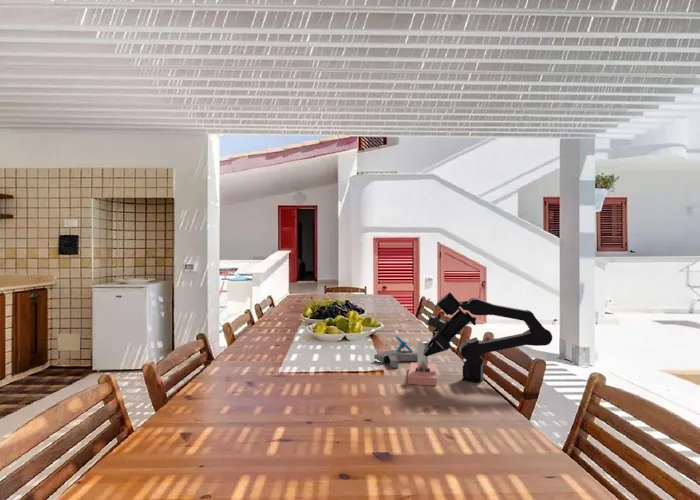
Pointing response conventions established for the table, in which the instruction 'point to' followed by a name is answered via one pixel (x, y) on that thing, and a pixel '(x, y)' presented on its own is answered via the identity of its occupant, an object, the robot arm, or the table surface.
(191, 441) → the table surface
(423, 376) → the beam plate
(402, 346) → the gear
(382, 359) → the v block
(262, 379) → the table surface
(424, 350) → the axle
